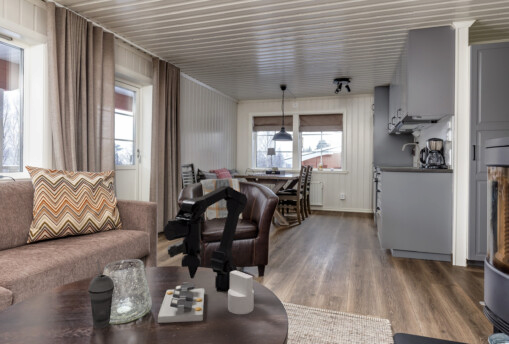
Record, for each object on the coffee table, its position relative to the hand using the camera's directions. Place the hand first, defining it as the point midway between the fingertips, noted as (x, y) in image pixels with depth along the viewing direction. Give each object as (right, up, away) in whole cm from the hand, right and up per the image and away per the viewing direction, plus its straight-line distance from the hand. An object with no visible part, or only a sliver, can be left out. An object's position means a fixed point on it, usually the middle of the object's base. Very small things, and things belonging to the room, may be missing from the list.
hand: (192, 278), depth 114 cm
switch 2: (-3, -5, -2) cm, 6 cm away
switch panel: (-3, -9, -2) cm, 10 cm away
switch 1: (-3, -5, +5) cm, 8 cm away
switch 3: (-2, -6, -9) cm, 11 cm away
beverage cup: (-25, -10, -15) cm, 31 cm away
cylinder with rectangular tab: (+18, -10, -3) cm, 20 cm away
